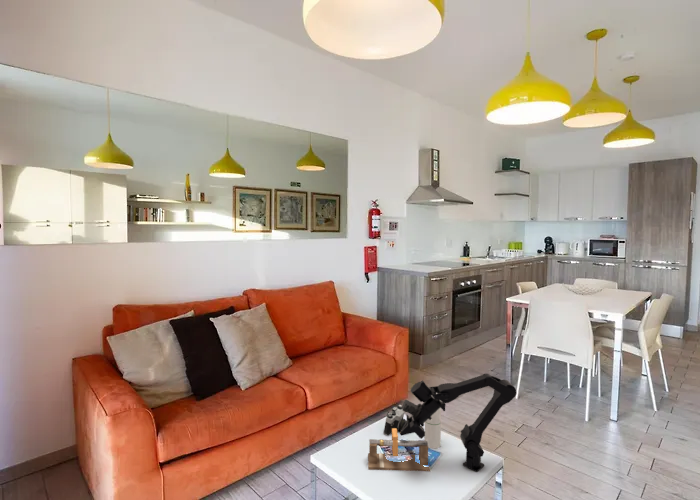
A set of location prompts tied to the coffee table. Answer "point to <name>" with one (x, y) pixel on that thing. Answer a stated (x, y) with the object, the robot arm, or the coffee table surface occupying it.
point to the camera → (394, 420)
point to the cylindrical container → (433, 430)
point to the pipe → (400, 443)
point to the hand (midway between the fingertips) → (400, 434)
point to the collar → (395, 442)
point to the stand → (382, 463)
